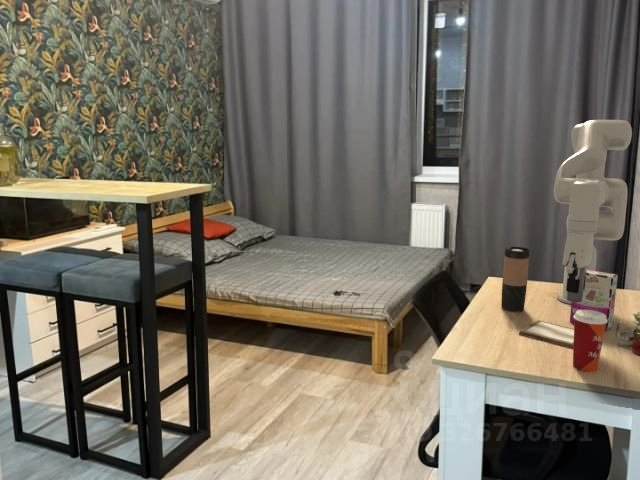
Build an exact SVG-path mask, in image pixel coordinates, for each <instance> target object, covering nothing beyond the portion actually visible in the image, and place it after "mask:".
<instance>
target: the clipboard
mask: <svg viewBox="0 0 640 480" xmlns="http://www.w3.org/2000/svg"><path fill="white" fill-rule="evenodd" d="M518 331H519V332H518V334H519V335H522V336H526V337H528V338H533V339H537V340H540V341H544V342H547V343H551V344H555V345H560V346H563V347H566V348H571V349H573V345H574V327H567V326H563V325H559V324H555V323H552V322H546V321H544V320H543V321H542V320H538V319H537V320H536V321H534V322H532V323H531V324H530V323H529V324H528V325H527V326H524V328H522V329H520V330H518Z"/></svg>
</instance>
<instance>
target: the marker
mask: <svg viewBox="0 0 640 480" xmlns="http://www.w3.org/2000/svg"><path fill="white" fill-rule="evenodd" d="M574 267H576V265H574ZM576 268H577V267H576ZM585 268H586V266H585V267H583V268H580V274H579V279H580V284H579V292H578V293H572V292H567V300H568V301H571V302H582V298H583V288H584V278H585ZM574 271H575V272H576V271H577V270H574Z"/></svg>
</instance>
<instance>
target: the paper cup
mask: <svg viewBox="0 0 640 480" xmlns="http://www.w3.org/2000/svg"><path fill="white" fill-rule="evenodd" d="M573 317H574V319H575V321H574V323H573V324H574V327H573V329H574V345H573V348H572V351H573V352H572V366H573V368H575V369H577V370H579V371H583V372H589V373H592V372H596V371H597V370H598V367H599V362H600V357H601V352H602V346H603V340H604V335H605V331H606V330H605V325H606V323H607V322H608V321H607V319H606V315H605V314H603V313H601V312H598V311H593V310H578V311H576V313H575V315H574V316H573Z"/></svg>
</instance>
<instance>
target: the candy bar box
mask: <svg viewBox="0 0 640 480" xmlns="http://www.w3.org/2000/svg"><path fill="white" fill-rule="evenodd" d="M618 278H619V275H618V274H615V273H610V272H604V271H603V272H602V271H598V270H595V271H592V270H587V274H586V281H585V289H584V290H583V298H582V302H572V304H570V305H571V307H570V313H569V314H570V315H569V322H570V323H573V324H574V321H575V319H574V317H573V316H574V315H575V313H576V311H578V310H593V311H598V312H601V313H603V314H605V315H606V319H607V321H608V322H607V323H606V325H605V331H608V330H610V329H611V328H612V327H613V323H614V315H615V314H614V313H615V306H616V303H615V302H616V295H617V286H618Z"/></svg>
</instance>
